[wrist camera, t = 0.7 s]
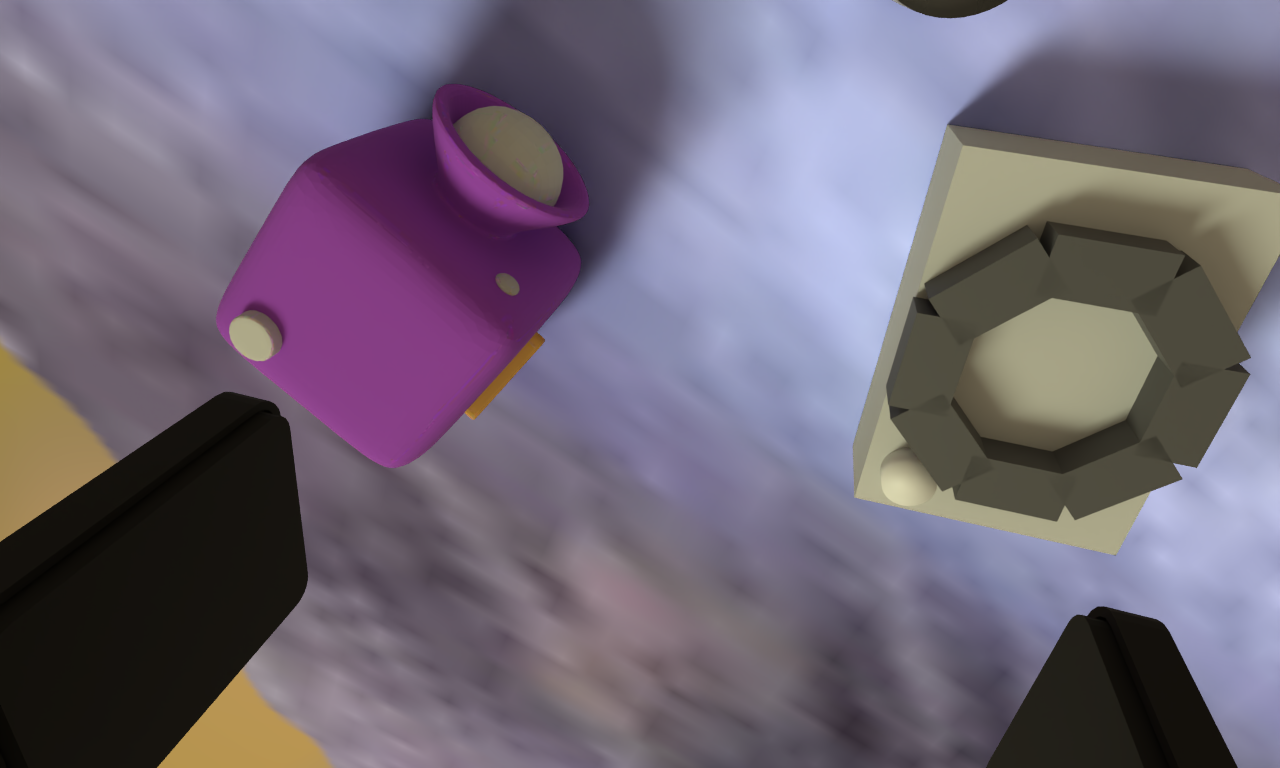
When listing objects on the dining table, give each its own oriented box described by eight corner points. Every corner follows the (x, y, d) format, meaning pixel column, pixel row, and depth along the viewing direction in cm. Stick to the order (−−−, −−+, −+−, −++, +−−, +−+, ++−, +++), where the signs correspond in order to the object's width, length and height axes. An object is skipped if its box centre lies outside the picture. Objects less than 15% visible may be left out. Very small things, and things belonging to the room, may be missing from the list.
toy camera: (660, 160, 30) (590, 231, 22) (520, 399, 37) (425, 525, 29) (427, 7, 30) (261, 19, 21) (328, 280, 37) (172, 372, 28)
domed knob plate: (944, 124, 28) (966, 153, 23) (1251, 169, 26) (1343, 211, 21) (850, 445, 34) (852, 519, 30) (1089, 495, 33) (1131, 582, 28)
